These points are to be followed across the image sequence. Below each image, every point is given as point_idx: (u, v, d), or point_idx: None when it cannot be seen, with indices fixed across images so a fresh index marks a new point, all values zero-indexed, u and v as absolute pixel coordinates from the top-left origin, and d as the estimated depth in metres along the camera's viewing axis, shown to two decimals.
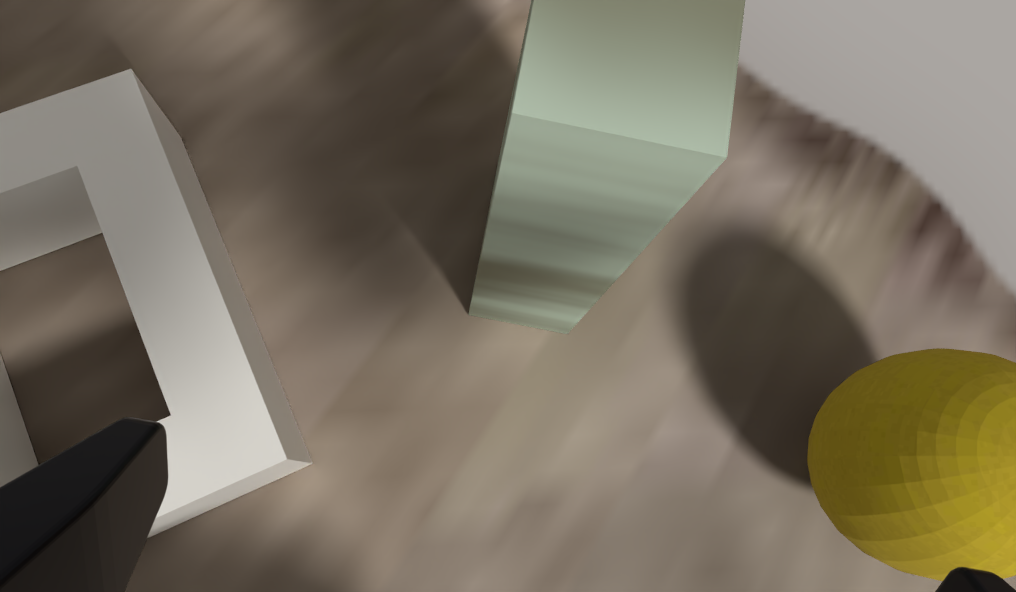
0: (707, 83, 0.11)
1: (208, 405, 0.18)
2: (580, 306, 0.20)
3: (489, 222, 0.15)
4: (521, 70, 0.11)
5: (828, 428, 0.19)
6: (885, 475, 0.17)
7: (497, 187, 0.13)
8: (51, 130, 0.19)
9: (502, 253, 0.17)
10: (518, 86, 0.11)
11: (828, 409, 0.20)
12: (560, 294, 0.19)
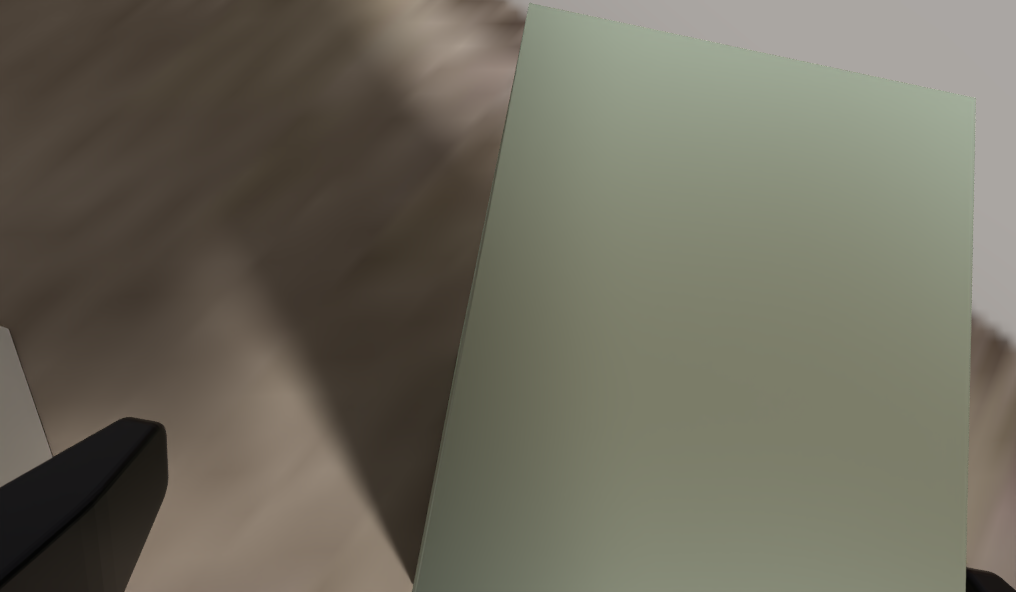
0: None
1: None
2: None
3: None
4: None
5: None
6: None
7: None
8: None
9: None
10: None
11: None
12: None
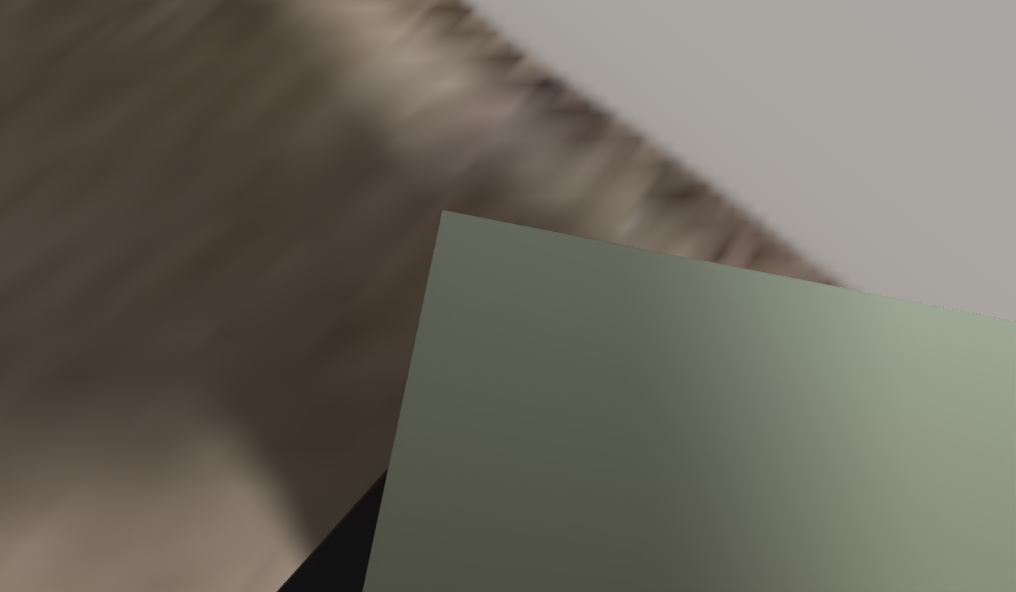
0: None
1: None
2: None
3: None
4: None
5: None
6: None
7: None
8: None
9: None
10: None
11: None
12: None
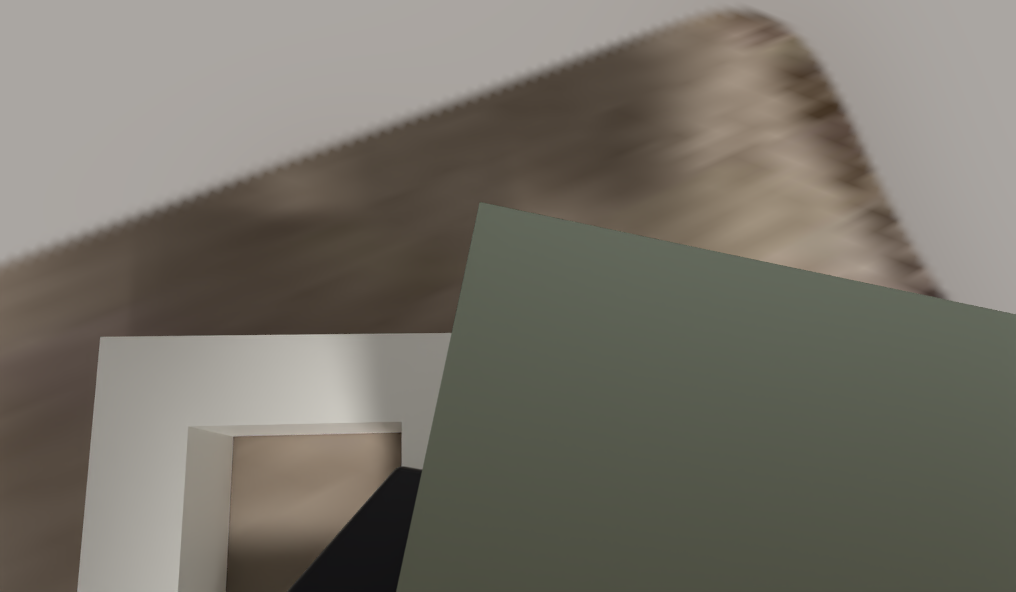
0: None
1: None
2: None
3: None
4: None
5: None
6: None
7: None
8: (389, 372, 0.18)
9: None
10: None
11: None
12: None
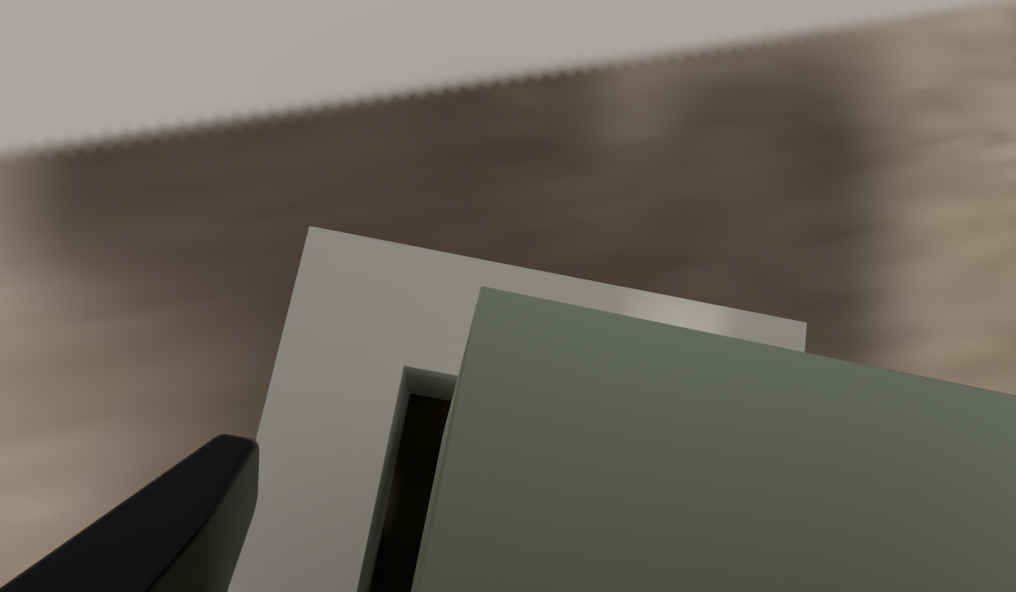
0: None
1: None
2: None
3: None
4: None
5: None
6: None
7: None
8: None
9: None
10: None
11: None
12: None
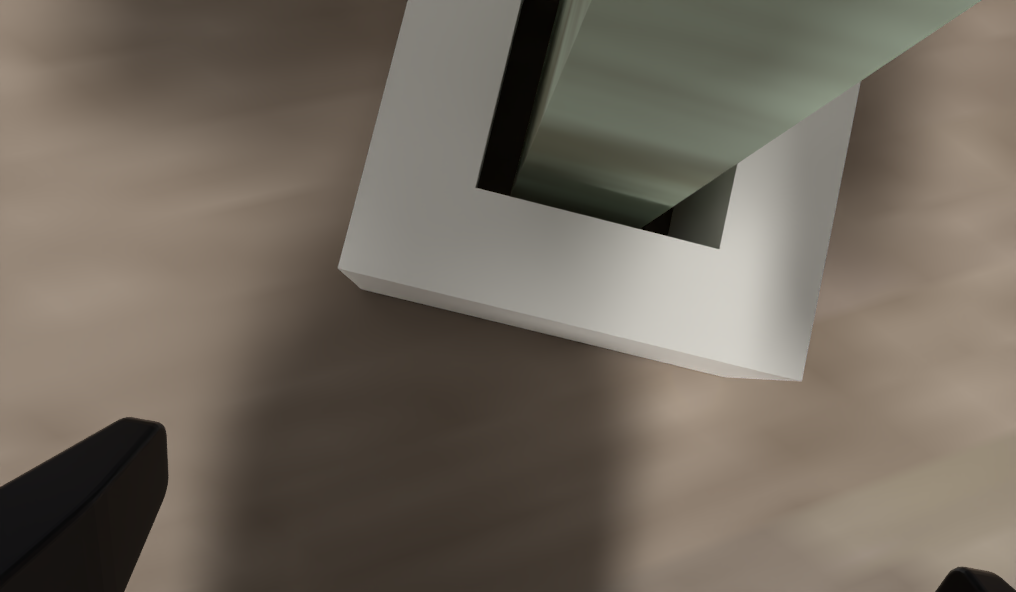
0: None
1: (760, 267, 0.14)
2: (663, 200, 0.15)
3: (566, 64, 0.10)
4: None
5: None
6: None
7: None
8: None
9: (575, 117, 0.12)
10: None
11: None
12: (641, 183, 0.14)
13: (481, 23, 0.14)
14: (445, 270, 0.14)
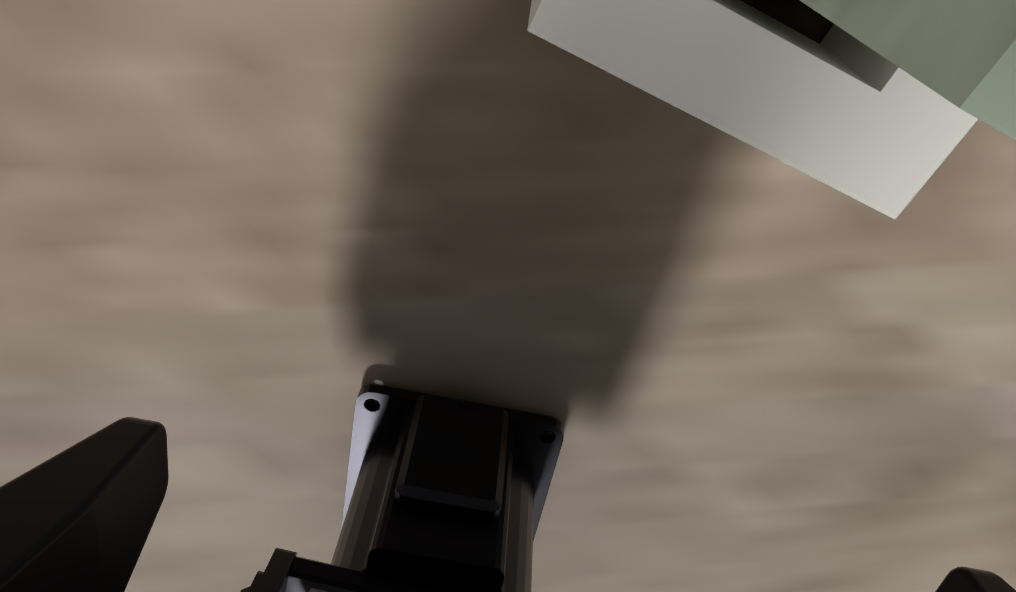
0: None
1: (910, 117, 0.15)
2: None
3: (804, 3, 0.10)
4: None
5: None
6: None
7: None
8: None
9: None
10: (998, 65, 0.06)
11: None
12: None
13: None
14: (623, 54, 0.15)
